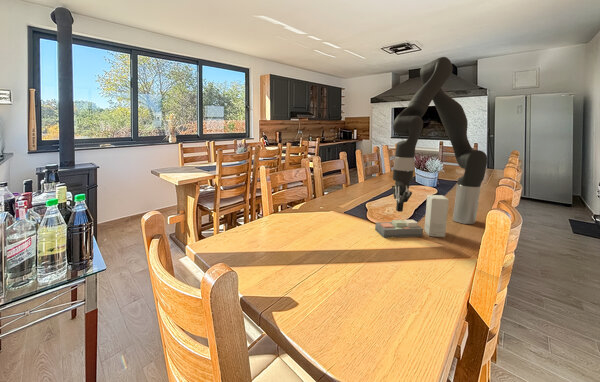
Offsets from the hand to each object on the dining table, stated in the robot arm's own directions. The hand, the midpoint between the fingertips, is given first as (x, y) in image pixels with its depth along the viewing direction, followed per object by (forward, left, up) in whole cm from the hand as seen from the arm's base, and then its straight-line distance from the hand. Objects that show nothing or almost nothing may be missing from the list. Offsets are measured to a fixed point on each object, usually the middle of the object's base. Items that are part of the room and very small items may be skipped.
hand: (399, 211), depth 116 cm
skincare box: (-13, +7, -10) cm, 18 cm away
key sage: (0, 0, -6) cm, 6 cm away
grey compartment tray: (0, 0, -9) cm, 9 cm away
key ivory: (-5, +2, -6) cm, 8 cm away
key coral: (+5, -2, -8) cm, 9 cm away
